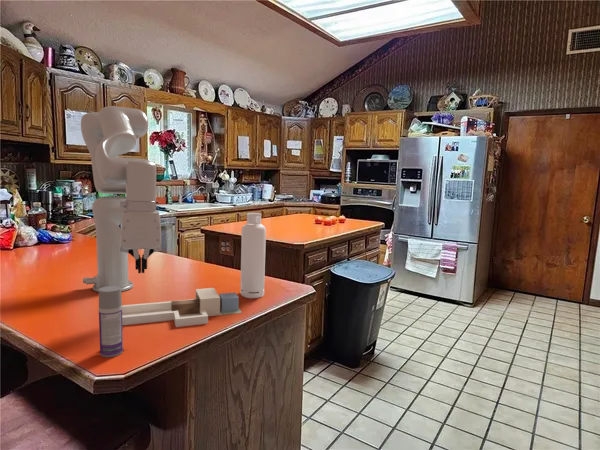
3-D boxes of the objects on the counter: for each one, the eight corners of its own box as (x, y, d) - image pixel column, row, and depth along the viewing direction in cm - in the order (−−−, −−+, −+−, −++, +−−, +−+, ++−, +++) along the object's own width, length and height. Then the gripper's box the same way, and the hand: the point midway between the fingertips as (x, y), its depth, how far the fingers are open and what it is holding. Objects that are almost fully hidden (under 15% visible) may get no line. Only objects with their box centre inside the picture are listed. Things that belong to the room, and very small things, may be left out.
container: (105, 348, 91) (103, 285, 89) (126, 348, 91) (124, 285, 89) (96, 357, 86) (94, 291, 84) (118, 357, 86) (116, 292, 84)
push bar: (171, 315, 111) (171, 304, 110) (171, 311, 114) (171, 301, 113) (221, 311, 116) (221, 300, 115) (219, 307, 119) (219, 297, 118)
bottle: (254, 299, 128) (256, 215, 125) (235, 295, 133) (236, 213, 129) (268, 293, 135) (271, 213, 132) (250, 289, 140) (252, 211, 136)
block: (221, 311, 115) (221, 298, 115) (219, 306, 120) (219, 293, 119) (238, 310, 117) (238, 297, 117) (235, 304, 122) (235, 292, 121)
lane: (118, 334, 98) (117, 313, 97) (120, 314, 112) (119, 295, 111) (246, 320, 111) (246, 301, 110) (234, 303, 124) (234, 286, 124)
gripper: (109, 208, 99) (110, 277, 102) (171, 209, 105) (170, 274, 108) (111, 204, 106) (112, 269, 109) (169, 205, 112) (168, 266, 115)
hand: (141, 271), depth 109 cm, fingers closed
